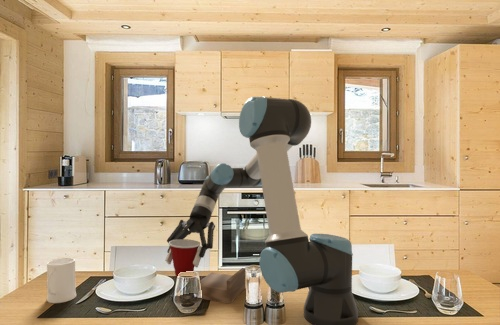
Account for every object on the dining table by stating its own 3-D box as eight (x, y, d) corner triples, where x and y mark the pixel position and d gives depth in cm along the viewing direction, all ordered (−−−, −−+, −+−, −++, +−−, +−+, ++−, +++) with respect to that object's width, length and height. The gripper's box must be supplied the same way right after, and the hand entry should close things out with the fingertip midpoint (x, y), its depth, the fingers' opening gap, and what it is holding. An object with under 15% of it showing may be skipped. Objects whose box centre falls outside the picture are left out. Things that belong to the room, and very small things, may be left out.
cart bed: (245, 288, 125) (245, 268, 125) (230, 303, 113) (230, 280, 113) (211, 283, 129) (211, 264, 129) (193, 297, 117) (193, 276, 117)
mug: (58, 308, 109) (58, 269, 109) (32, 307, 110) (32, 268, 110) (81, 293, 121) (81, 257, 121) (58, 292, 122) (57, 256, 122)
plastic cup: (198, 281, 120) (197, 245, 120) (165, 281, 120) (165, 245, 120) (203, 271, 131) (202, 238, 130) (173, 271, 131) (172, 238, 131)
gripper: (232, 218, 136) (214, 272, 121) (180, 215, 144) (157, 266, 129) (227, 205, 131) (207, 261, 116) (173, 203, 139) (148, 255, 124)
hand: (181, 263), depth 123 cm, fingers closed on plastic cup, 10 cm apart
